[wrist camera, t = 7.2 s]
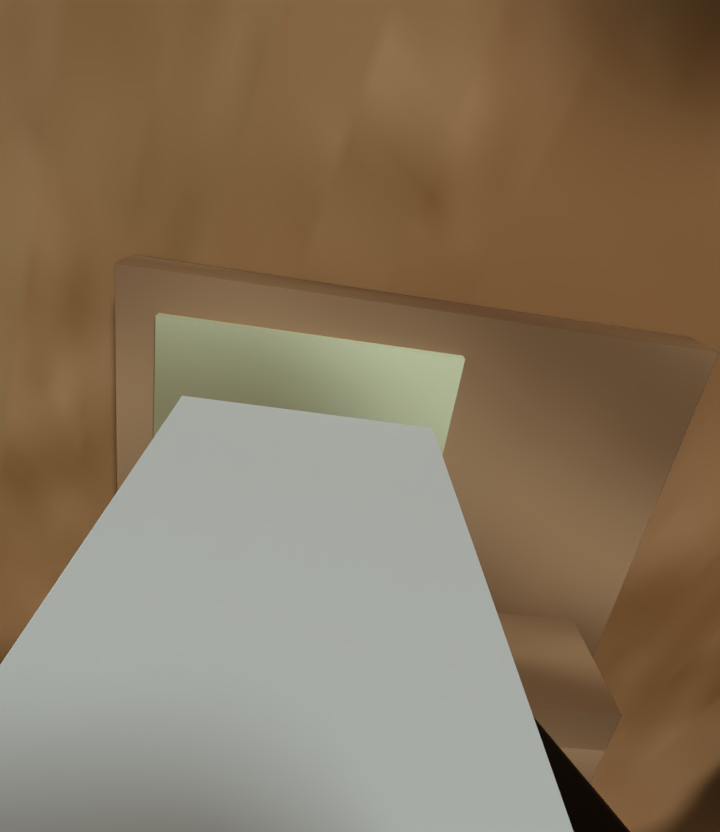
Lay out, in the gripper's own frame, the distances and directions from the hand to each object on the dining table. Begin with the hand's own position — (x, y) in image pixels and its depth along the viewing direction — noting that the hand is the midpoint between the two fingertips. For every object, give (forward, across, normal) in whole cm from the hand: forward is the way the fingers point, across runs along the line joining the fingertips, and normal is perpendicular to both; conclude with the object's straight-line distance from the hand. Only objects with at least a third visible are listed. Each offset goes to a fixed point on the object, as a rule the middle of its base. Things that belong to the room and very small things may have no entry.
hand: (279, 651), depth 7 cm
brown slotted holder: (+6, -2, +4) cm, 7 cm away
